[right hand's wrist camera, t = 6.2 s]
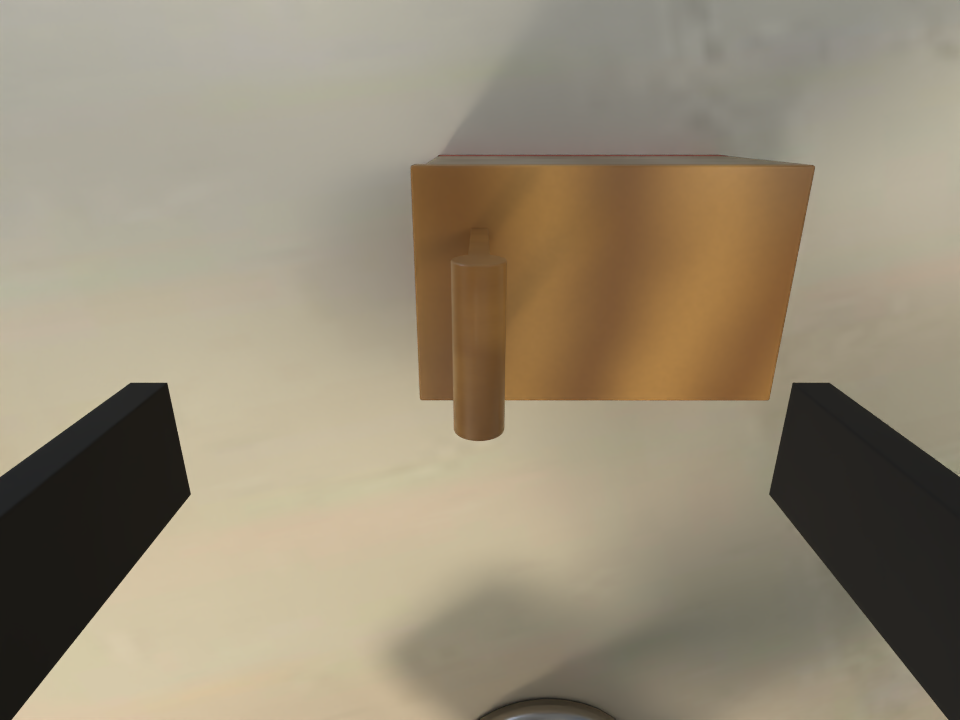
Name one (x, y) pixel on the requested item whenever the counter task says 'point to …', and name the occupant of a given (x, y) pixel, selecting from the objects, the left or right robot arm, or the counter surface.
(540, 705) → the left robot arm
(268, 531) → the counter surface
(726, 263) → the lid
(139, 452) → the right robot arm
